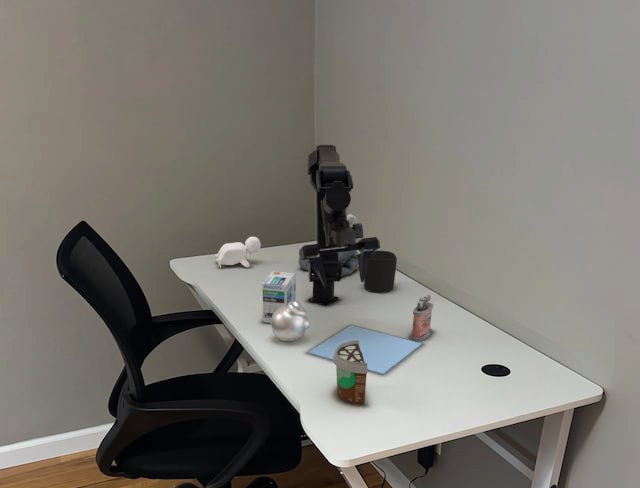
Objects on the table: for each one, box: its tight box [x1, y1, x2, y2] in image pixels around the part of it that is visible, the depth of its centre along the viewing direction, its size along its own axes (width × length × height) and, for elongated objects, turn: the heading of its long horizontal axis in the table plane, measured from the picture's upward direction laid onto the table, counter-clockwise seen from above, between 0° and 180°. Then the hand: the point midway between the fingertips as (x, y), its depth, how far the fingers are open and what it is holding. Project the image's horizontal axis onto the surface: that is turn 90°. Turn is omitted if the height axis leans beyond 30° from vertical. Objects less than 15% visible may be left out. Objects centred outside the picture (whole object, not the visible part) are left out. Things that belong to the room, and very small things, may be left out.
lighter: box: [410, 294, 434, 342], centre depth 173 cm, size 8×3×10 cm, turn 148°
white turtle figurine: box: [214, 236, 262, 269], centre depth 224 cm, size 8×8×15 cm
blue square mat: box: [308, 325, 422, 375], centre depth 168 cm, size 20×20×1 cm
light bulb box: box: [261, 270, 297, 324], centre depth 183 cm, size 11×7×11 cm, turn 168°
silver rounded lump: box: [270, 300, 311, 342], centre depth 170 cm, size 9×10×10 cm
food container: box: [332, 340, 368, 406], centre depth 145 cm, size 12×6×10 cm, turn 5°
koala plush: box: [298, 213, 360, 278], centre depth 217 cm, size 17×18×20 cm
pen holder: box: [363, 250, 398, 294], centre depth 204 cm, size 9×9×10 cm
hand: (344, 284), depth 167 cm, fingers open, 9 cm apart
